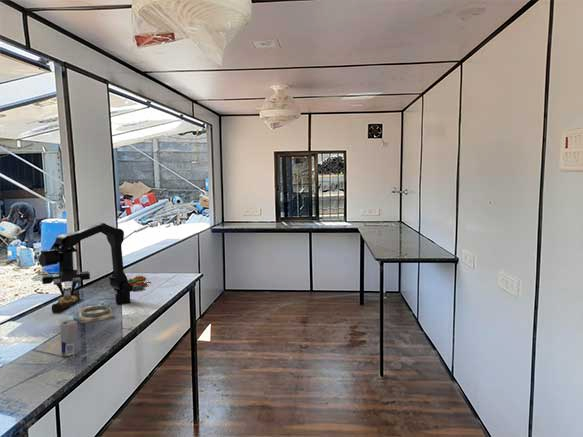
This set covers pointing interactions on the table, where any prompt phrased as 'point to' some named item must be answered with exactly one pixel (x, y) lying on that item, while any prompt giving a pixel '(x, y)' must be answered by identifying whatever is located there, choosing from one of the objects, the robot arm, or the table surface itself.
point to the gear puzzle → (138, 283)
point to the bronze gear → (67, 296)
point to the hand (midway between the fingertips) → (67, 295)
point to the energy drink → (69, 337)
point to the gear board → (95, 313)
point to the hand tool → (60, 306)
